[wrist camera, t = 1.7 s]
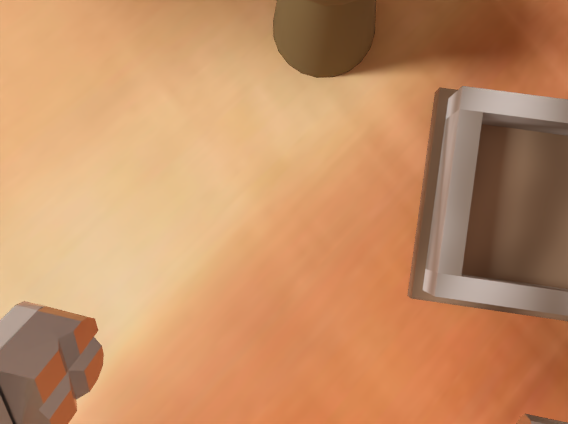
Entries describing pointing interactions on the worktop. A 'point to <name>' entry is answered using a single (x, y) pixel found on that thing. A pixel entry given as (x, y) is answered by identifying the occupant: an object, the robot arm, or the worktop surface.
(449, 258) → the socket mount
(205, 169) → the worktop surface
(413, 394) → the worktop surface
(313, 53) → the cork
